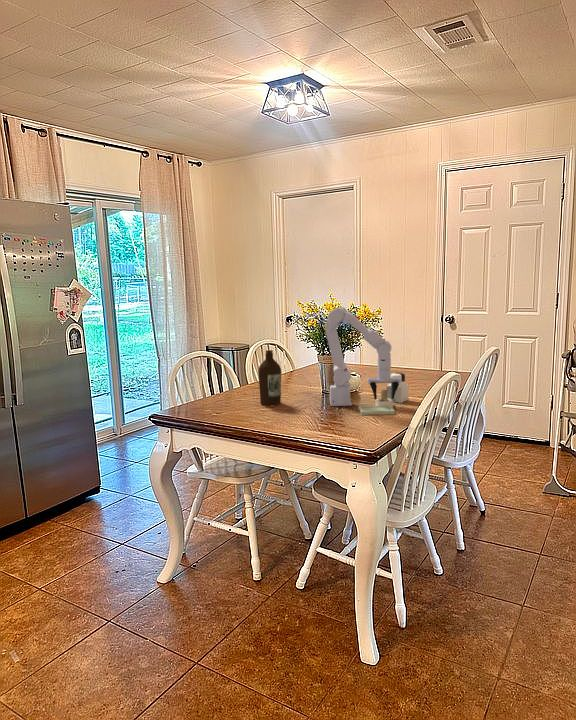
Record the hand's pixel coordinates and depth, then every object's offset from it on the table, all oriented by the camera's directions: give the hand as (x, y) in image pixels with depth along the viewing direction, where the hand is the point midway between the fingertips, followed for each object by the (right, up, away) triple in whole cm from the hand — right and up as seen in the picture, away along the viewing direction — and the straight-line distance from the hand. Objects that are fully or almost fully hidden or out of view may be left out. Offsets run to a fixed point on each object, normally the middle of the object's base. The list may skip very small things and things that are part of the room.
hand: (383, 398), depth 240 cm
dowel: (0, -3, +1) cm, 3 cm away
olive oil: (-51, -3, +10) cm, 52 cm away
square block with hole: (0, -3, +1) cm, 3 cm away
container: (+8, -2, +11) cm, 14 cm away
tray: (-5, -5, -8) cm, 11 cm away
